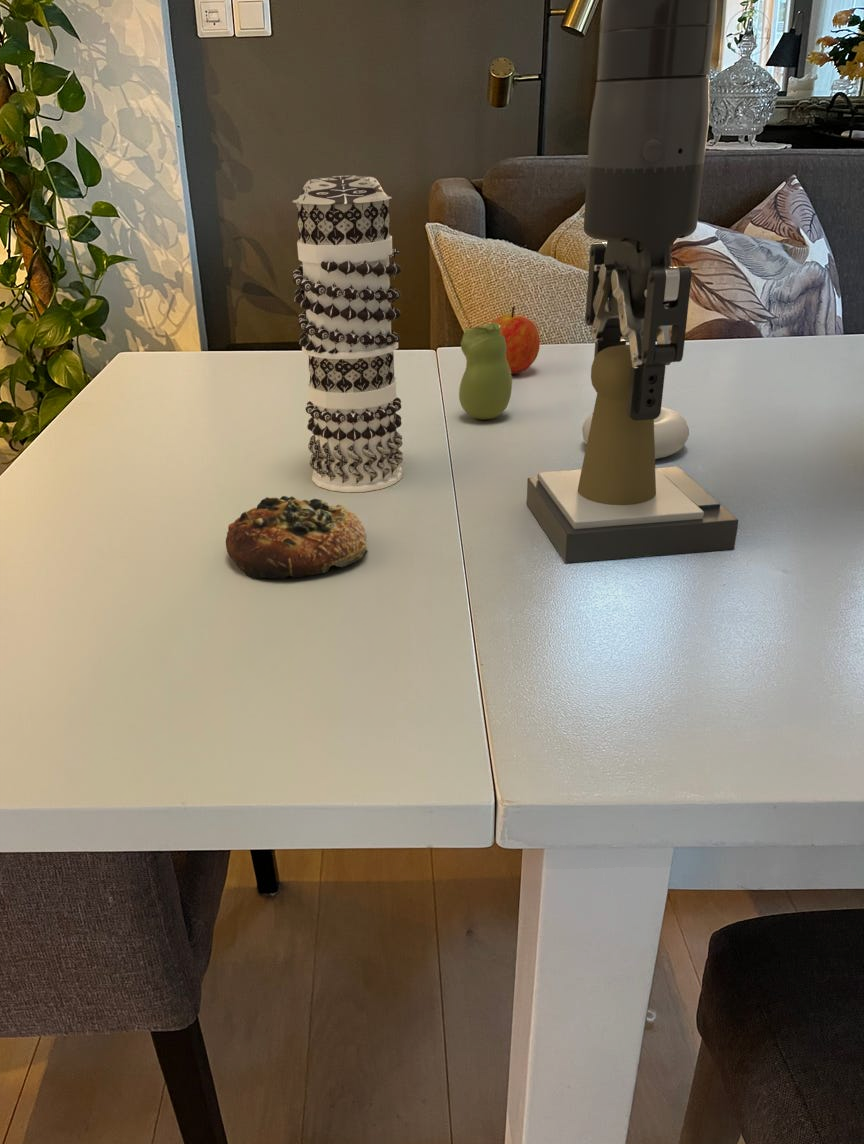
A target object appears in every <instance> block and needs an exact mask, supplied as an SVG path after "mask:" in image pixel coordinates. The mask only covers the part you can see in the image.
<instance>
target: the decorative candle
mask: <svg viewBox="0 0 864 1144" xmlns="http://www.w3.org/2000/svg"><path fill="white" fill-rule="evenodd" d="M390 199H393V196H392V195H389V194H387V193H386V192H385V191H384V189H383V188H382V186H381V184H380V182H379V181H378V180H377V178H376V177H374V176H372V175H371V176H370V175H332V176H322V177H314V178H311V179H309V180H308V181H306V182H305V184H304V186H303V187H302V190H301V192H300V195H299V197H298V198H297V199H294V200H292V201H291V203H294V204H296V206H295V207H296V209H297V227H298V231H299V232H298V233H299V235H298V237H299V238H298V240H297V241H296V245H297V246H296V247H297V258H298V261H300V262H301V264H300V265H298V266H297V268H296V269H295V270H294V271H293V272H292V282H293V284H295V285H296V286H298V288H296V289H295V291H294V296H293V302H295V303H296V304H298V305H299V306H300V308H301V309H303V311H302V312H301V313H300V314H299V315H298V317H297V325H298V327H299V329H301V330H303V331H302V332H301V333H300V334H299V341H298V345H300V346H301V352H302V353H304V354H305V355H307V356H308V373H309V380H308V384H307V387H308V388H307V390H308V391H307V392H308V401H307V402H306V406H305V412H306V414H308V415H310V418H309V419H308V422H307V423H308V424H307V425H306V428H307V430H309V431H311V433H312V435H311V436H310V438H309V440H308V441H309V442H308V445H307V448H308V450H309V452H311V454H310V460H309V466H310V468H311V469H313V471H312V476H311V479H312V482H313V483H314V484H315V485H316V486H317V487H320V488H322V489H324V490H328V491H332V492H341V493H365V492H371V491H372V492H373V491H377V490H383V489H386V488H387V487H391V486H394V485H396V484H397V483H398V482H399V481H400V480H401V479H402V478H403V468H402V466H400V464H402V463H403V461H404V458H403V454H404V453H403V451H402V450H400V448H401V447H402V445H403V443H404V442H403V435H402V434H401V433H399V431H398V430H397V429H398V428H400V427H401V426H402V417H401V415H400V414H397V412H398V411H400V410H401V409H402V399H401V398H400V397H398V395H397V377H396V376H395V359H394V358H395V356H394V352H395V351H396V350H397V349H399V341H400V340H401V337H400V335H399V334H398V333H397V332H395V330H394V329H393V328H392V320H393V322H396V321H397V320H398V319H399V318H401V316H402V313H401V310H400V309H399V308H397V307H395V306H394V303H395V302H396V301H397V300H399V299H400V298H401V297H402V296H401V295H402V293H401V291H400V290H398V289H397V288H395V287H394V286H393V285H391V281H390V277H391V276H393V279H395V277H396V276H398V275H399V274H400V273H402V267H401V266H400V264H398V263H397V262H395V260H394V258H395V257H396V256H398V255H399V254H400V253H401V250H398V249H397V248H394V249H393V236H392V235H391V227H390V226H391V225H390ZM391 258H392V260H393V261H392V262H391V261H390V259H391ZM391 303H392V306H391Z"/></svg>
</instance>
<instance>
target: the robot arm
mask: <svg viewBox="0 0 864 1144" xmlns="http://www.w3.org/2000/svg"><path fill="white" fill-rule="evenodd" d="M717 11H718V0H602V5H601V12H600V19H599V20H600V21H599V34H598V35H599V36H598V49H597V64H596V66H597V67H596V81H597V82H596V83H595V90H594V97H593V103H592V108H591V112H590V113H591V114H590V119H589V120H590V122H589V131H588V132H589V133H588V147H587V164H586V166H587V167H586V181H585V197H584V198H585V200H584V213H583V214H584V215H583V232H584V233H585V235H586V236H588V237H589V238H591V239H595V240H598V241H599V240H600V241H606V242H601V243H592V244H591V245H590V249H589V261H588V262H589V263H588V277H587V289H586V290H587V291H586V304H585V315H584V321H585V324H586V326H587V327H589V326H591V329H590V330H591V331H590V332H591V336H592V339H594V340H595V341H594V353H593V354H594V356H593V359H594V358H595V357H596V355H597V354H598V353H599V352H600V351H602V350H603V349H605V348H608V347H612V346H619V345H627V340H626V339H625V338H627V339H628V345H630V352H631V361H632V365H633V366H631V374H630V385H629V396H628V407H627V414H628V416H629V417H630V418H631V419H633V420H635V421H638V420H652V419H656V418H658V417H659V415H660V413H661V407H662V404H663V403H662V402H663V392H664V384H665V375H666V366H670V365H671V364H672V363H678V362H681V361H682V360H683V357H684V350H685V340H686V332H687V331H686V330H687V323H688V322H687V321H688V311H689V302H690V294H691V286H692V285H691V283H692V269H691V267H690V266H687V265H686V266H673V267H672V250H671V249H672V248H671V246H672V243H673V242H674V241H675V240H676V239H684V238H687V237H689V236H691V235H693V234H694V232H695V231H696V230H697V227H698V221H699V220H698V219H699V210H700V202H701V201H700V200H701V194H702V193H701V192H702V183H703V176H704V165H705V157H706V150H707V148H706V147H707V141H708V131H709V124H710V123H709V121H710V81H711V80H710V77H709V76H710V75H711V68H712V59H713V51H714V41H715V35H716V33H715V32H716V27H715V26H716V24H717ZM670 330H671V335H670Z"/></svg>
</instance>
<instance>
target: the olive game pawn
mask: <svg viewBox="0 0 864 1144" xmlns="http://www.w3.org/2000/svg"><path fill="white" fill-rule="evenodd" d="M631 366H633V365H632V361H631V352H630V344H626V345H619V346H612V347H608V348H605V349H603V350H602V351H600V352H599V353H598V354H597V355H596V357H595V358H594V357H593V361H592V364H591V367H590V380H591V385H592V387H593V389H594V391H595V392H596V397H595V403H594V407H593V411H592V413H593V416H592V421H591V426H590V431H589V436H588V441H587V444H586V446H585V451H584V455H583V459H582V466H581V469H582V470H581V475H580V480H579V485H578V493H579V494H580V495H581V496H582V497H584V498H586V499H588V500H591V501H594V502H597V503H603V504H609V505H632V504H638V503H643V502H646V501H648V500H651V499H653V497H654V496H655V495H656V476H655V467H656V459H655V443H654V419H652V420H638V421H635V420H633V419H631V418H630V417H629V416H628V414H627V407H628V396H629V385H630V374H631Z"/></svg>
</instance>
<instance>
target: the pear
mask: <svg viewBox="0 0 864 1144" xmlns="http://www.w3.org/2000/svg"><path fill="white" fill-rule="evenodd" d="M460 349H461V352H462V353H463V355H464V357H465V360H466V363H465V364H466V366H465V371H464V373H463V375H462V378H461V379H460V384H459V389H458V390H459V391H458V397H459V399H458V400H459V403H460V405H461V407H462V409H463V411H464V412H465V413H466V414H467V415H468V416H470V417H471V418H473V419H476V420H484V421H485V420H492V419H494V418H495V419H496V418H497V417H498V416H500V415H501V414H502V413H503V412H504V411H506V409H507V407H508V405H509V403H510V401H511V396H512V389H513V375H511V370H510V367H509V365H508V362H507V359H506V341H505V338H504V336H501V332H500V325H499V324H498V323H491V322H490V323H488V324H484V325H480V326H478V325H477V326H473V327H470V328H469V327H468V328H466V329H465V331H464V332H463V335H462V339H461V342H460Z"/></svg>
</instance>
